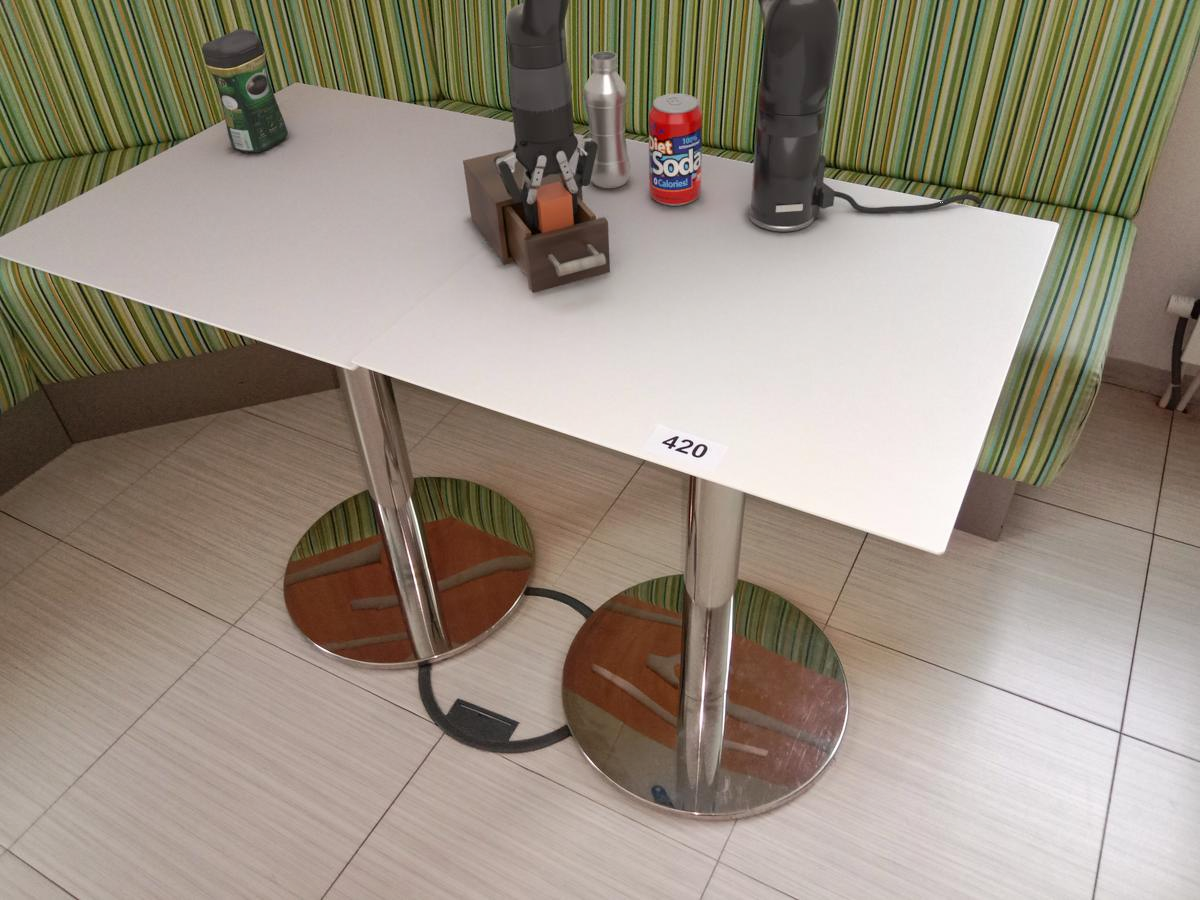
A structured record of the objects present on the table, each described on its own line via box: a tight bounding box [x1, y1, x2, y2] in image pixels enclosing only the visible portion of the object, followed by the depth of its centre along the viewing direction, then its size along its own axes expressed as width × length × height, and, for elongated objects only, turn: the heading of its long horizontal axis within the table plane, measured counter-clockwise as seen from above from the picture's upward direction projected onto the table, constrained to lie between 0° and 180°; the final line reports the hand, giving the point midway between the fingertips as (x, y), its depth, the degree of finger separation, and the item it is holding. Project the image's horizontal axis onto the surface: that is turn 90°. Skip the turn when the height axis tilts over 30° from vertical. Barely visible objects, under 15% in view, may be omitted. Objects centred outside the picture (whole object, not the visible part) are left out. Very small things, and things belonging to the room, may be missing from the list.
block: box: [535, 182, 574, 233], centre depth 129 cm, size 4×4×4 cm
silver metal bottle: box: [582, 50, 632, 189], centre depth 147 cm, size 6×7×20 cm
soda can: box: [648, 93, 704, 207], centre depth 144 cm, size 8×8×15 cm
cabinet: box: [462, 148, 584, 265], centre depth 140 cm, size 15×13×10 cm
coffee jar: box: [201, 28, 288, 154], centre depth 165 cm, size 10×8×19 cm
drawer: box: [502, 196, 611, 294], centre depth 131 cm, size 18×11×8 cm, turn 24°
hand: (551, 220), depth 131 cm, fingers closed on block, 4 cm apart
